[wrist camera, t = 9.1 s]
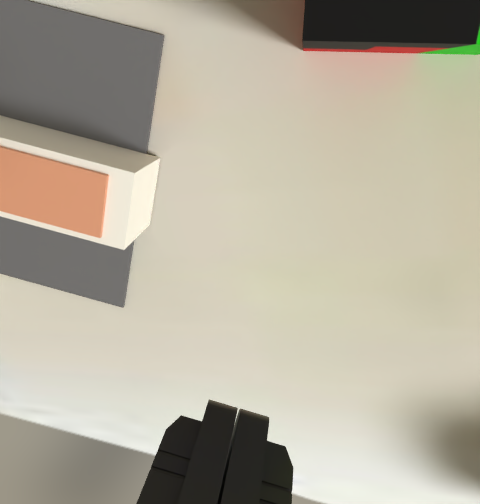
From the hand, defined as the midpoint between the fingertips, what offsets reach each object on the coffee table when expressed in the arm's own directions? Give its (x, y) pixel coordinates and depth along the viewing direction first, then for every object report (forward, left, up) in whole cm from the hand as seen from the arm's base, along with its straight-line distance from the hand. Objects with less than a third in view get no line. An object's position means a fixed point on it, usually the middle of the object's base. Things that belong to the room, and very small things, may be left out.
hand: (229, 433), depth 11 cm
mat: (+2, -16, -22) cm, 27 cm away
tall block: (+2, -9, -19) cm, 21 cm away
